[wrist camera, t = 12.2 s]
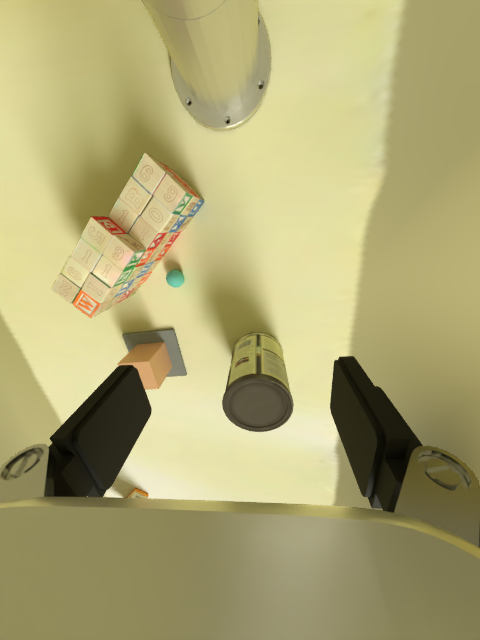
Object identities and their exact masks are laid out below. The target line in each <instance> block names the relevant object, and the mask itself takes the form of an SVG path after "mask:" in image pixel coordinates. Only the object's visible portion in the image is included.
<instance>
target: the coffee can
mask: <svg viewBox="0 0 480 640" xmlns="http://www.w3.org/2000/svg"><path fill="white" fill-rule="evenodd" d="M222 405H223V410H224V412H225V414H226V416H227V417H228V419H229V420H230V421H231V422H232V423H234V424H235V425H236V426H238V427H240V428H243V429H245V430H249V431H255V432H264V431H270V430H273V429H276V428H278V427H280V426H282V425H283V424H284V423H286V422H287V420H288V419H289V418H290V416H291V414H292V412H293V399H292V396H291V394H290V388H289V383H288V378H287V373H286V368H285V363H284V358H283V350H282V347H281V345H280V344H279V342H278V341H277V340H276V339H275V338H273V337H272V336H270V335H267V334H264V333H251V334H248V335H245V336H243V337H242V338H240V339H239V340H238V341H237V343H236V344H235V346H234V349H233V355H232V360H231V366H230V371H229V376H228V381H227V386H226V391H225V393H224V396H223V401H222Z"/></svg>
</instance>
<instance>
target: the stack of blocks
mask: <svg viewBox="0 0 480 640" xmlns="http://www.w3.org/2000/svg"><path fill="white" fill-rule="evenodd" d="M203 203H204V200H203V199H202V198H201V197H200V196H199V195H198V194H197V193H196V192H195V191H194V190H193V189H192V188H191V187H190V186H189V185H188V184H187V183H186V182H185V181H184V180H183V179H182V178H181V177H180V176H179V175H178V174H177V173H176V172H175V171H173V170H172V169H170V168H168V167H167V166H166V165H164V164H162V163H161V162H158V161H157V160H156V159H155V158H153V157H152V156H150V155H148V154H147V153H144V154H143V156H142V158H141V160H140V162H139V163H138V165H137V167H136V169H135V170H134V172H133V175H132V176H131V177H130V178H129V180H128V182H127V184H126V185H125V187H124V189H123V191H122V192H121V194H120V196H119V198H118V199H117V201H116V202H115V204H114V206H113V208H112V210H111V212H110V213H109V217H95V216H92V217H90V219H89V221H88V223H87V225H86V227H85V229H84V231H83V232H82V234H81V238H80V239H79V241H78V243H77V245H76V247H75V249H74V250H73V252H72V254H71V256H70V257H69V258H68V260H67V262H66V264H65V266H64V267H63V269H62V271H61V273H60V274H59V276H58V277H57V279H56V281H55V283H54V284H53V286H52V290H53V291H55V292H56V293H57V294H59V295H60V296H61V297H63V298H64V299H65V300H66V301H68V302H69V303H72V304H73V305H74V306H75V307H76V308H77V309H79V310H80V311H81V312H83V313H84V314H86V315H87V316H88V317H90V318H93V317H95V316H97V315H98V314H100V313H102V312H103V311H105V310H107V309H109V308H111V307H113V306H114V305H116V304H117V303H119V302H120V301H122V300H124V299H125V298H128V297H130V296H132V295H133V294H135V293H136V292H137V290H138V289H139V288H140V286H141V285H142V284H143V283H144V282H145V281H146V279H147V278H148V277H149V275H150V274H151V273H152V271H153V270H154V269H155V268H156V266H157V265H158V264H159V262H160V261H161V260H162V257H163V256H164V254H165V253H166V252H167V251H168V249H169V248H170V247H171V244H172V243H173V242H174V241H175V239H176V238H177V237H178V235H179V234H180V233H181V232H182V231H183V230H184V229H185V227H186V226H187V225H188V223H189V222H190V221H191V219H192V218H193V216H194V215H195V214H196V212H197V211H198V210H199V208H200V207H201V206H202V204H203Z"/></svg>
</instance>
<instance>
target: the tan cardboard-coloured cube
mask: <svg viewBox="0 0 480 640" xmlns="http://www.w3.org/2000/svg"><path fill="white" fill-rule="evenodd" d="M120 365H133V366H134V367H135V368H137V370H138V372H139V375H140V378H141V380H142V383H143V386H144V389H145V390H146V389H159V387H160V386H161V384H162V383H163V381H164V379H165V378H166V376H167V374H168V373H169V371H170V370H171V368H172V363H171V360H170V357H169V354H168V350H167V347H166V344H165V342H158V343H147V344H137V345H136V346H135V347H134V348H133V349H132V350H131V351H130V352H129V353H128V354H127V355H126V356H125V357H124V358H123V359H122V360H121V361H120V362H119V363H118V366H120Z"/></svg>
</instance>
